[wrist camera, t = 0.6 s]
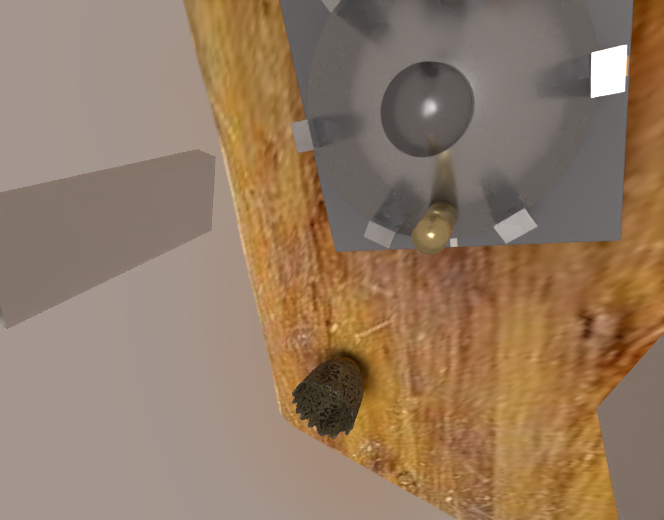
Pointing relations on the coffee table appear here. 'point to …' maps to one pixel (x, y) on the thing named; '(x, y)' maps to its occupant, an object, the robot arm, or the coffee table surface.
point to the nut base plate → (559, 202)
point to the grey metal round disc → (452, 110)
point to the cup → (331, 396)
